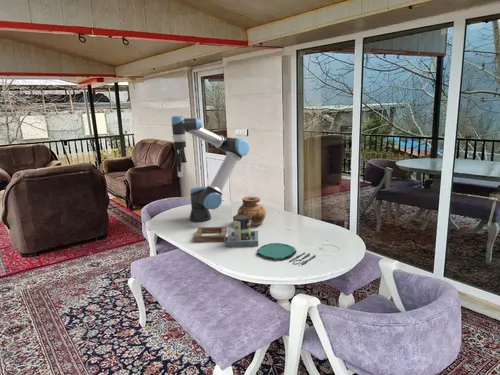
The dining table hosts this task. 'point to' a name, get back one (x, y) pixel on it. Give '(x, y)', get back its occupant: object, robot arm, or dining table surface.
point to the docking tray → (240, 243)
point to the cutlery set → (280, 252)
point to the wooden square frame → (210, 237)
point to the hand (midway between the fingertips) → (182, 174)
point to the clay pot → (252, 210)
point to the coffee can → (242, 227)
